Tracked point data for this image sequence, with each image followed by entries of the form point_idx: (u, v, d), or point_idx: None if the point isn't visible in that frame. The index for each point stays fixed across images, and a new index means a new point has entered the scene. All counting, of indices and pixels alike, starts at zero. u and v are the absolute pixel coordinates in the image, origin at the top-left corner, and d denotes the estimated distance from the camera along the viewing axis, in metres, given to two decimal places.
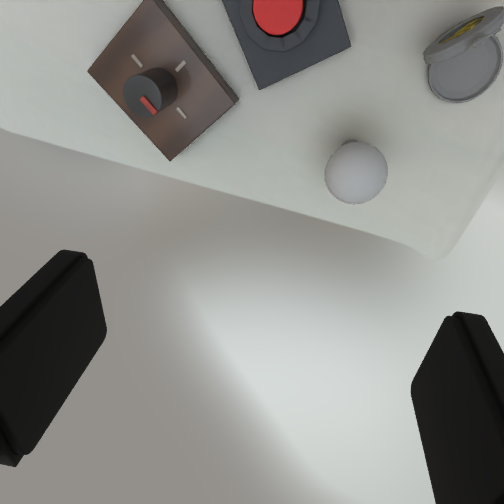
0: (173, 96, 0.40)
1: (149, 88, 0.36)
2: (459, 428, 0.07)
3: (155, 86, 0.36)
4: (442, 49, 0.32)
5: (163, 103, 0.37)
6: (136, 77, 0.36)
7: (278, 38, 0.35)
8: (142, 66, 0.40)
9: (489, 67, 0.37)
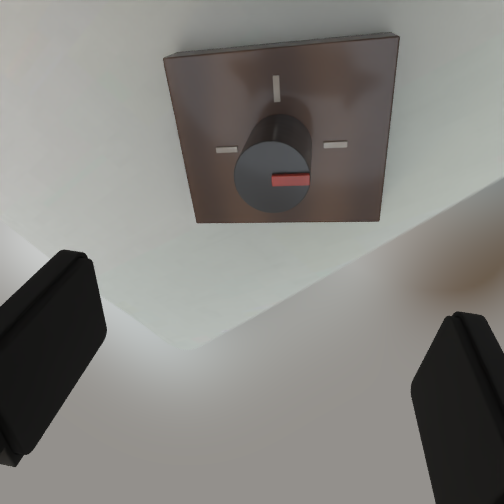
0: (306, 135, 0.21)
1: (269, 156, 0.18)
2: (459, 428, 0.07)
3: (273, 144, 0.18)
4: None
5: (305, 154, 0.19)
6: (240, 162, 0.19)
7: None
8: (238, 148, 0.24)
9: None
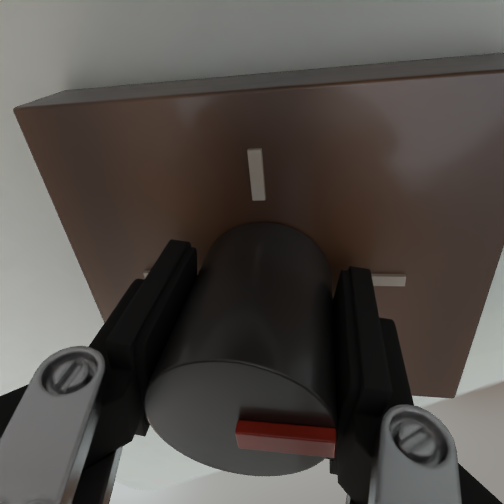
0: (321, 276, 0.10)
1: (226, 389, 0.07)
2: (336, 361, 0.09)
3: (237, 369, 0.06)
4: None
5: (324, 374, 0.07)
6: (156, 391, 0.07)
7: None
8: None
9: None
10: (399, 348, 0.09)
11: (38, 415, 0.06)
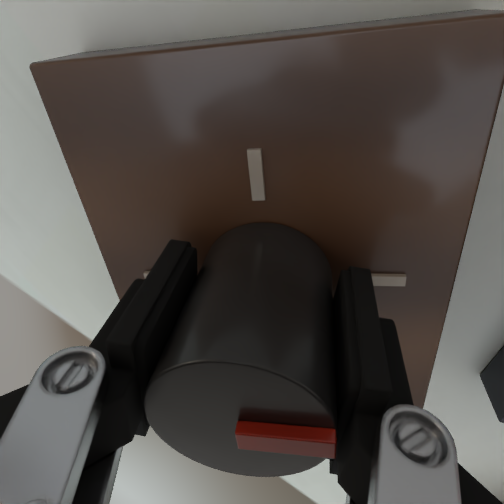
0: (321, 277, 0.10)
1: (226, 390, 0.07)
2: (336, 360, 0.09)
3: (236, 369, 0.06)
4: None
5: (324, 374, 0.07)
6: (155, 392, 0.07)
7: None
8: (259, 199, 0.10)
9: None
10: (399, 348, 0.09)
11: (38, 415, 0.06)
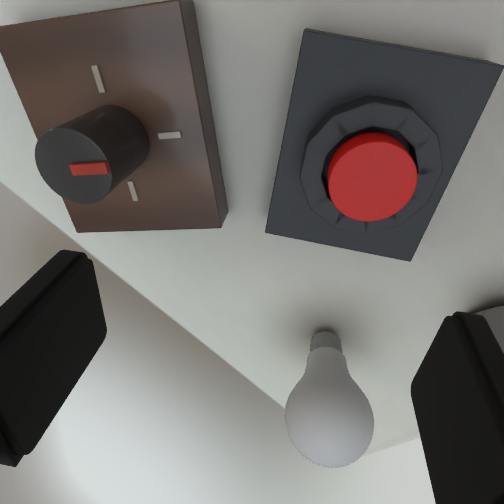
0: (129, 125, 0.21)
1: (63, 144, 0.18)
2: (459, 428, 0.07)
3: (64, 131, 0.17)
4: None
5: (104, 142, 0.18)
6: (38, 151, 0.18)
7: None
8: (103, 92, 0.21)
9: None
10: None
11: None
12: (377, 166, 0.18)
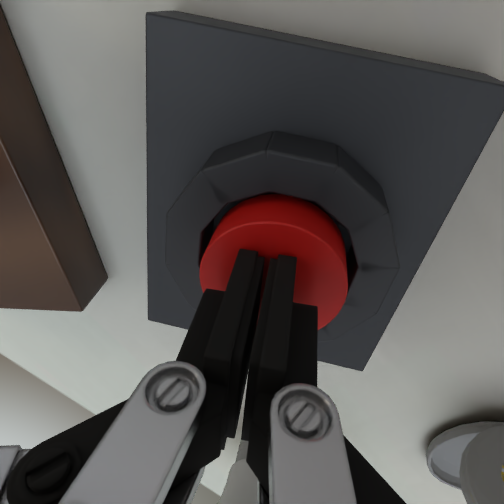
0: None
1: None
2: None
3: None
4: None
5: None
6: None
7: None
8: None
9: None
10: (316, 333, 0.09)
11: (136, 427, 0.06)
12: None
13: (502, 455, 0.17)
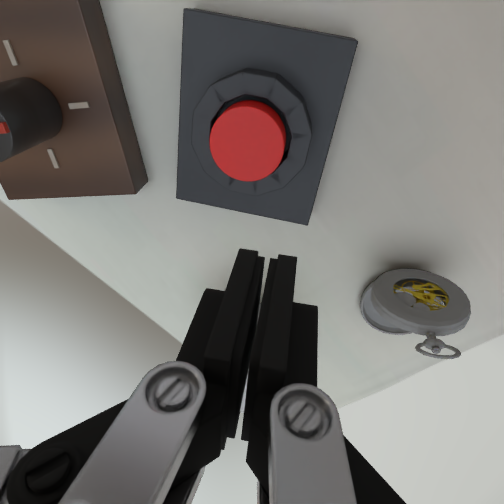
0: (37, 94, 0.23)
1: None
2: None
3: None
4: (394, 312, 0.25)
5: (4, 106, 0.21)
6: None
7: None
8: (17, 65, 0.24)
9: None
10: (316, 332, 0.09)
11: (136, 427, 0.06)
12: (247, 129, 0.21)
13: (396, 279, 0.28)
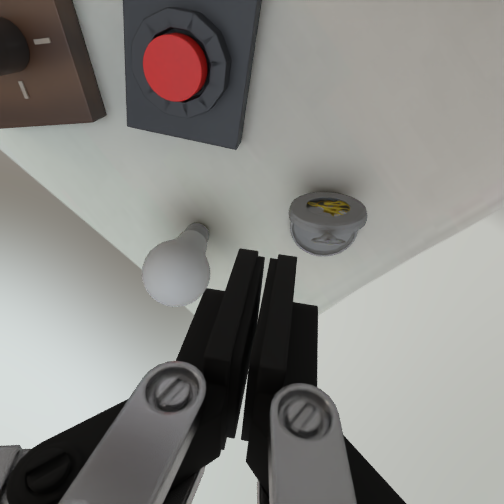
0: (7, 29, 0.28)
1: None
2: None
3: None
4: (302, 217, 0.30)
5: None
6: None
7: None
8: None
9: (342, 238, 0.38)
10: (316, 333, 0.09)
11: (136, 427, 0.06)
12: (171, 54, 0.26)
13: (311, 198, 0.33)
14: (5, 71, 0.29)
